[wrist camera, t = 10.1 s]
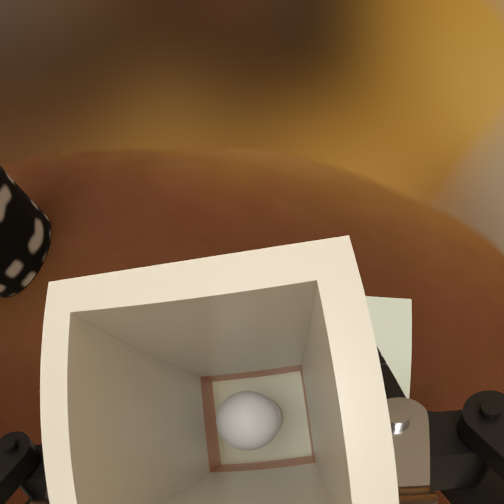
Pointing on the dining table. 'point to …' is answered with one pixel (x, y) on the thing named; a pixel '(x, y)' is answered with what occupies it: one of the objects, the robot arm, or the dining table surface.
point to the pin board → (298, 395)
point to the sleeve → (212, 380)
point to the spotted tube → (20, 237)
